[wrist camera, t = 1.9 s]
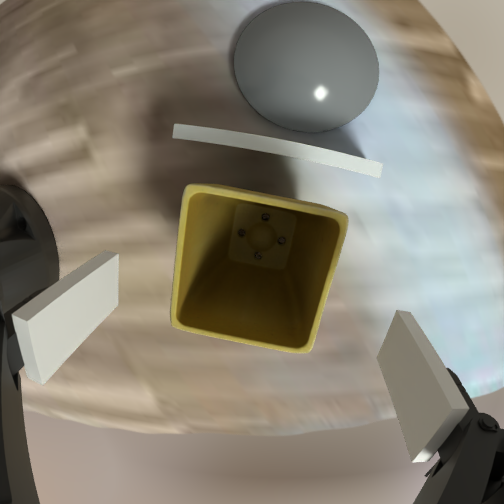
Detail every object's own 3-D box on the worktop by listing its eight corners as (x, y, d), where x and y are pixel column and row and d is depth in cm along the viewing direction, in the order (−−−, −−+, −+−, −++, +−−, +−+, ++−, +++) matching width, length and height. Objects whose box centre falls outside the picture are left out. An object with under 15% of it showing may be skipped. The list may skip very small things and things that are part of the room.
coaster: (223, 118, 23) (221, 117, 22) (249, -3, 19) (248, -7, 19) (364, 147, 23) (366, 147, 22) (382, 25, 19) (385, 21, 18)
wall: (188, 139, 24) (172, 138, 20) (190, 126, 23) (174, 123, 20) (364, 173, 23) (380, 178, 20) (367, 161, 23) (383, 163, 19)
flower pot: (216, 169, 24) (183, 181, 16) (327, 191, 24) (352, 215, 16) (201, 273, 27) (168, 327, 19) (302, 293, 27) (309, 356, 19)
